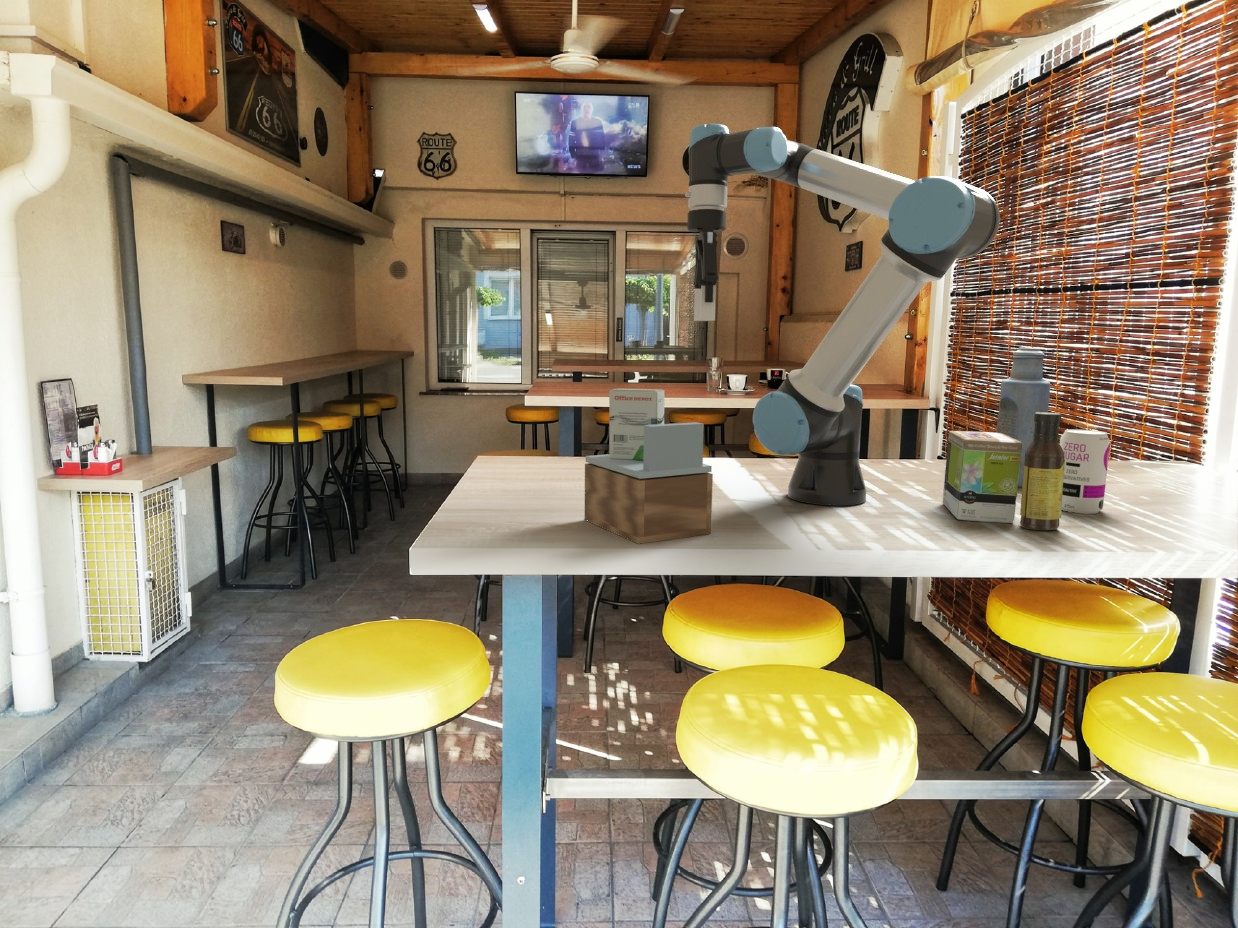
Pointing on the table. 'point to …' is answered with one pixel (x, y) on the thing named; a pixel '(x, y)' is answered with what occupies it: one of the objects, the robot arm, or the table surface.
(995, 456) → the tea box
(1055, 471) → the sauce bottle
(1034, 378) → the bottle
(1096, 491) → the supplement can
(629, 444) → the ink box
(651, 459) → the lid
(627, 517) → the crate
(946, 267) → the robot arm
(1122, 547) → the table surface
